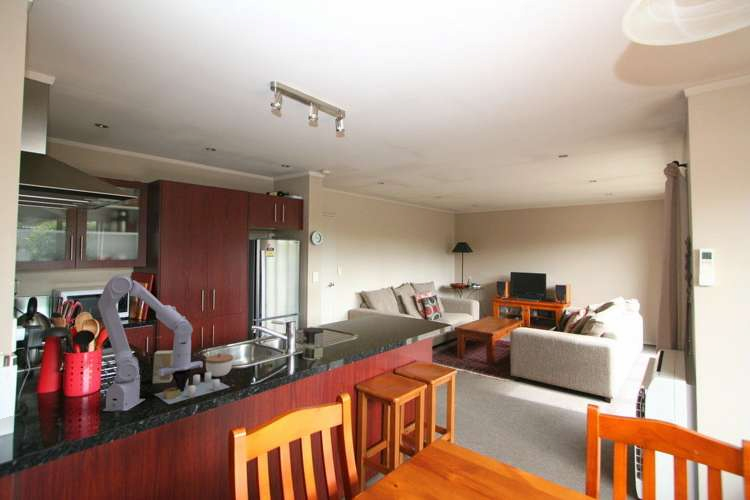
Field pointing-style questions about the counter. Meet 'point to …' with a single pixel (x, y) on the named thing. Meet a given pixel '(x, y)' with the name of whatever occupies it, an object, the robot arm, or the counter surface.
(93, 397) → the counter surface
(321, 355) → the coffee can
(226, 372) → the lidded jar
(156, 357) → the skincare box
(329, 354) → the counter surface
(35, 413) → the counter surface
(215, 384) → the board
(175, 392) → the nut
